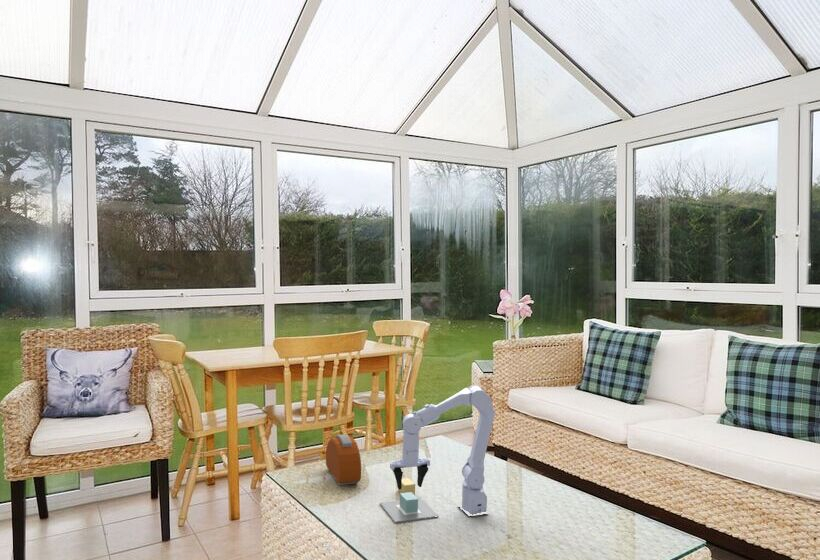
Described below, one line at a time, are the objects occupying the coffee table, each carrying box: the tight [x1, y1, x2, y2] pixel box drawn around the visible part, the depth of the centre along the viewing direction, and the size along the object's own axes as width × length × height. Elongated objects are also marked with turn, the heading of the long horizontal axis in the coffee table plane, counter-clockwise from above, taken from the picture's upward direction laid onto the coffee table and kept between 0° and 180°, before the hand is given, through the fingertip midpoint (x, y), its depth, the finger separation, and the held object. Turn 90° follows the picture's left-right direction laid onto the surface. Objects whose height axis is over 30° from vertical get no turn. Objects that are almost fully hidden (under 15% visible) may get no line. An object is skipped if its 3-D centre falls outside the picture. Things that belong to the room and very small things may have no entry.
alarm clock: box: [325, 434, 362, 486], centre depth 232 cm, size 23×9×17 cm, turn 22°
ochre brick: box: [397, 477, 416, 496], centre depth 217 cm, size 6×4×4 cm
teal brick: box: [399, 492, 419, 513], centre depth 202 cm, size 6×4×4 cm
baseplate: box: [379, 497, 439, 524], centre depth 202 cm, size 16×16×1 cm
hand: (409, 487), depth 201 cm, fingers open, 7 cm apart
